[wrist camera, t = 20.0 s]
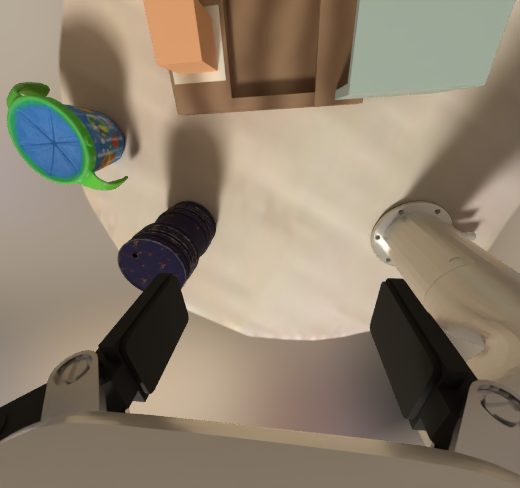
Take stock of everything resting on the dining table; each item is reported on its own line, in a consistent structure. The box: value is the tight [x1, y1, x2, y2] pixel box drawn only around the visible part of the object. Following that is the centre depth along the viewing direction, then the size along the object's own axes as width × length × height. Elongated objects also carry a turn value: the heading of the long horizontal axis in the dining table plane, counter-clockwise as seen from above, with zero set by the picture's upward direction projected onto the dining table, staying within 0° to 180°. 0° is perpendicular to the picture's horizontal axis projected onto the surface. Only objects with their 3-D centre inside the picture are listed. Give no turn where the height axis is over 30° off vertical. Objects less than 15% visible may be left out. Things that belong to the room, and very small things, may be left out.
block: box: [143, 0, 218, 74], centre depth 25 cm, size 5×5×6 cm
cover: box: [335, 0, 515, 100], centre depth 21 cm, size 12×13×8 cm
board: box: [169, 0, 363, 115], centre depth 28 cm, size 25×14×3 cm, turn 93°
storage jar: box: [118, 201, 216, 291], centre depth 37 cm, size 10×10×15 cm
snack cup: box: [7, 82, 128, 190], centre depth 33 cm, size 16×10×10 cm
